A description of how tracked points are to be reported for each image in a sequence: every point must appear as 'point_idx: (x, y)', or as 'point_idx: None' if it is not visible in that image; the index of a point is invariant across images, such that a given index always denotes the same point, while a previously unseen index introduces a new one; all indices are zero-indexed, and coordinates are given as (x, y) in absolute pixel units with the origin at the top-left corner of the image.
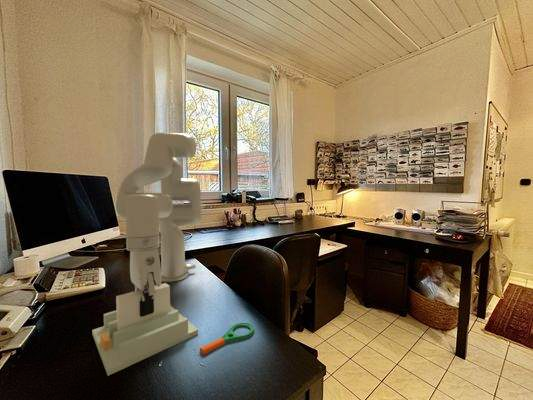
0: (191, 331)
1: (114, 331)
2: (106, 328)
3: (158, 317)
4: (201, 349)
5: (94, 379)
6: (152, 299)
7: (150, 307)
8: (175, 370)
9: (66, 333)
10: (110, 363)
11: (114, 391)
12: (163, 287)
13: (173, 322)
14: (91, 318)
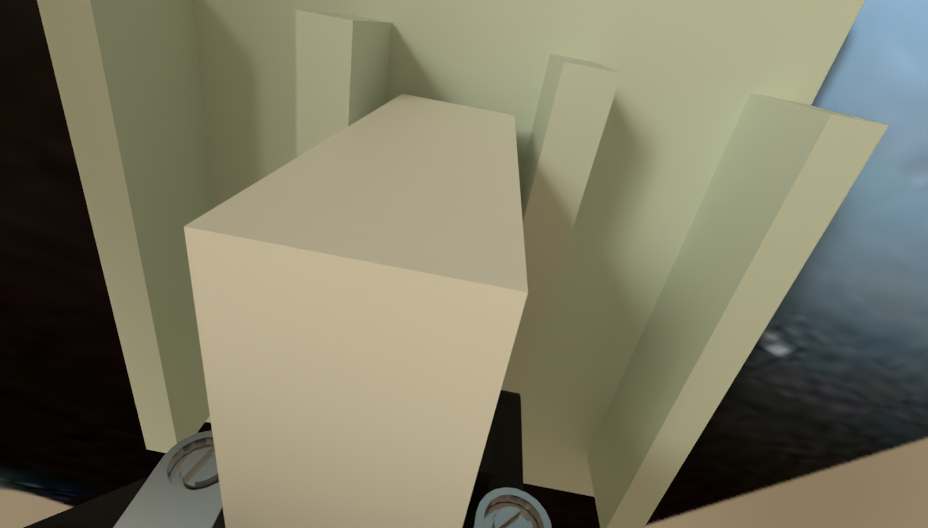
0: (814, 68)
1: None
2: None
3: (534, 279)
4: None
5: (572, 498)
6: (491, 465)
7: (517, 429)
8: (904, 334)
9: (124, 446)
10: (574, 480)
11: (708, 493)
12: (464, 415)
13: (758, 254)
14: (11, 344)
